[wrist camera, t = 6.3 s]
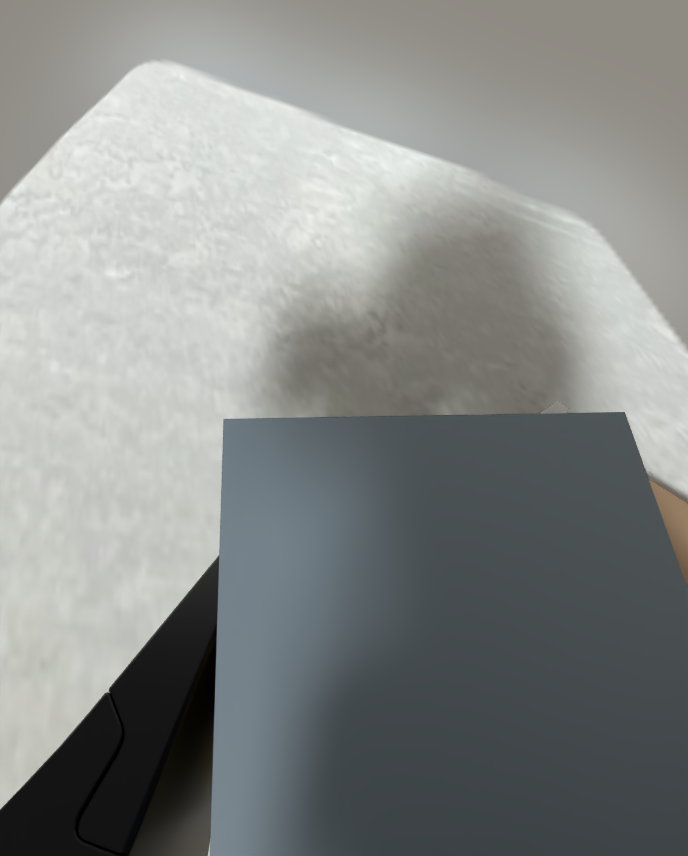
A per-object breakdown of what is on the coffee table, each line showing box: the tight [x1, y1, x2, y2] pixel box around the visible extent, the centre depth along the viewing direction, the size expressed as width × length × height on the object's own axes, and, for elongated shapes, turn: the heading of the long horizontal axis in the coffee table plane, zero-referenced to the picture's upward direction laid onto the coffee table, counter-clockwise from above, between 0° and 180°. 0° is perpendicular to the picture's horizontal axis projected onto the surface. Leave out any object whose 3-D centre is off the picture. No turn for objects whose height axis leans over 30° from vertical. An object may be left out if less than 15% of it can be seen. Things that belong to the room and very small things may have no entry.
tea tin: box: [210, 412, 688, 856], centre depth 9 cm, size 5×5×12 cm
